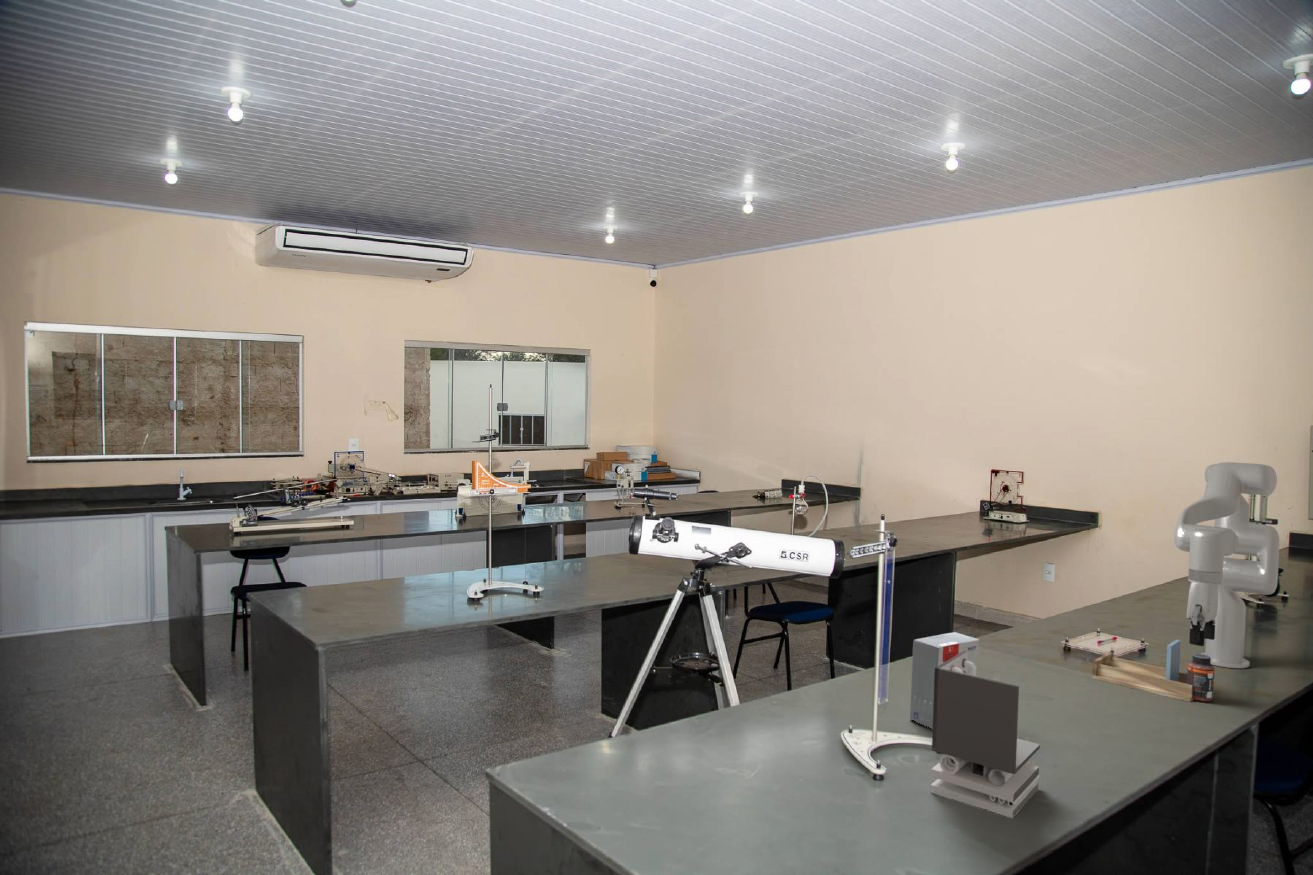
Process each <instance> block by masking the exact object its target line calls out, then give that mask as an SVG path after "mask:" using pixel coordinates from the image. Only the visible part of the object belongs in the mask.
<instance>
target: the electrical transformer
mask: <svg viewBox="0 0 1313 875" xmlns="http://www.w3.org/2000/svg"><path fill="white" fill-rule="evenodd" d="M967 667H970V668H971V674H968V673H967ZM1019 694H1020V685H1015V684H1010V683H1006V682H1003V681H998V680H993V679H989V678H984V677H979V676H978V675H977V676H976V666H975V665H974V663H972V662H970V661H968V651H963V652H961V653H959V654H958V655H956V656H954V657H953V658H951V659H949V660H948V661H946V662H944V663H943V664H941V665H939V666H938V667H936V668H935V674H934V704H933V729H932V734H931V736H932V737H931V738H932V740H931V742H932V743H931V751H934V752H936V753H940V754H942V755H941V756H940V758H939V760H938V763H937V764H936V765H934V766H933V767H932V768H931V772H930V777H931V778H934V779H935V781H933V782H932V783H931V784H930V793H931V794H934V793H935V795H937V796H940V797H943V796H944V797H943V798H946V797H947V798H946V799H950V800H952V799H954V800H953V801H955V800H957V802H958V801H962V802H964V803H963V804H965V803H968V804H972V805H975V806H977V807H981V808H983V809H988V810H990V811H993V812H997V813H1000V814H1002V815H1007V816H1009V817H1014V815H1016V813H1017V812H1018V811H1019V810H1020V809H1021V808H1022V807H1023V805H1024V804H1025V805H1027V803H1028V802H1029V801H1030V800H1031V799H1032V797H1034V795H1035V794H1036V793H1037V792H1038V791H1039V781H1038V780H1039V779H1040V774H1039V773H1040V772H1039V771H1040V766H1037V765H1035V764H1031V763H1028V762H1029V761H1030V760H1031V759H1033V756H1034V755H1035V754H1036V753H1037V752H1038V751H1039V749H1041V744H1040V743H1036V742H1032V741H1029V740H1024V739H1020V738H1018V724H1019V723H1018V721H1019ZM1037 790H1038V791H1037ZM1036 791H1037V792H1036ZM1035 792H1036V793H1035ZM1034 793H1035V794H1034ZM1033 794H1034V795H1033ZM1030 798H1031V799H1030ZM1029 799H1030V800H1029ZM1028 800H1029V801H1028ZM1027 801H1028V802H1027ZM962 802H961V803H962ZM1026 802H1027V803H1026ZM968 804H967V805H968ZM977 807H976V808H977ZM1023 808H1024V807H1023ZM1023 808H1022V809H1023ZM983 809H982V810H983ZM1022 809H1021V810H1022ZM1021 810H1020V811H1021ZM1020 811H1019V812H1020ZM1019 812H1018V813H1019ZM1016 816H1017V815H1016ZM1014 818H1015V817H1014Z"/></svg>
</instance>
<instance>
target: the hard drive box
mask: <svg viewBox="0 0 1313 875" xmlns="http://www.w3.org/2000/svg"><path fill="white" fill-rule="evenodd" d="M979 644H980V639H979V638H975V637H973V636H970V635H969V636H968V635H966V634H962V633H959V632H955V631H954V632H948V633H947V632H946V633H941V634H937V635H931V636H927V637H921V638H916V639H913V642H912V660H911V661H912V664H911V665H912V666H911V667H912V669H911V684H910V686H911V687H910V702H909V705H910V706H909V720H910V721H912V720H914V721H916V722H915V723H917V722H918V723H917V724H919V723H920V724H919V725H921V724H922V726H923V725H924V727H926V726H927V727H926V728H928V727H929V728H928V729H930V728H931V730H933V704H934V674H935V668H936V667H938V666H939V665H941V664H943V663H944V662H946V661H948V660H949V659H951V658H953V657H954V656H956V655H958V654H959V653H961V652H963V651H968V661H970V662H972V663H974V665H975V666H976V676H977V677H978V667H979V666H978V665H979V664H978V663H979V646H980V645H979ZM967 673H968V674H971V668H970V667H967ZM914 721H913V722H914Z"/></svg>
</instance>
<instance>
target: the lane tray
mask: <svg viewBox="0 0 1313 875" xmlns="http://www.w3.org/2000/svg"><path fill="white" fill-rule="evenodd" d="M1091 673H1092V680H1093V679H1094V680H1097V681H1101V682H1106V683H1110V684H1114V685H1118V686H1121V687H1126V688H1131V689H1135V690H1138V691H1143V692H1147V693H1151V694H1155V695H1159V696H1163V697H1168V698H1170V699H1171V698H1172V699H1177V700H1181V701H1185V702H1188V701H1189V702H1188V703H1191V702H1192V701H1193V700H1194V699H1192V692H1193V685H1190V684H1187V672H1183V671H1180V670H1179V682H1177V681H1172V680H1168V679H1166V667H1161V666H1156V665H1151V664H1148V663H1147V664H1146V663H1142V662H1138V661H1134V660H1128V659H1125V658H1119V657H1116V656H1114V652H1112V651H1109V652H1107V653H1105V654H1103V655H1101V656H1100V657H1097V658H1095V659H1094V660H1093V661H1092V672H1091ZM1190 701H1191V702H1190Z"/></svg>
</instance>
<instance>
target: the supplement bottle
mask: <svg viewBox="0 0 1313 875" xmlns="http://www.w3.org/2000/svg"><path fill="white" fill-rule="evenodd" d="M1210 662H1211V657H1209V656H1207V655H1203V654H1200V653H1193V654H1192V660H1191V661H1190V662H1188V664H1187V672H1186V673H1187V684H1190V685H1193V692H1192V699H1193V700H1195V701H1199V702H1211V701H1213V700H1214V692H1215V690H1214V689H1215V688H1214V686H1215V667H1214V665H1212V664H1211V663H1210Z"/></svg>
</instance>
